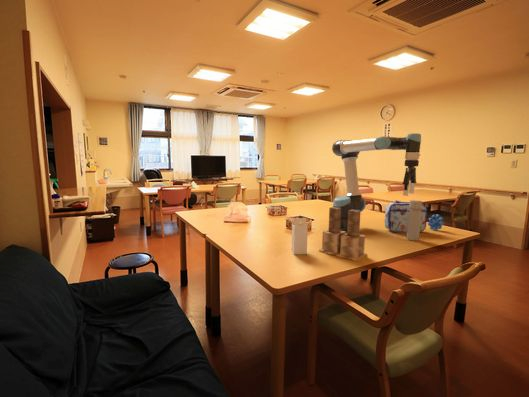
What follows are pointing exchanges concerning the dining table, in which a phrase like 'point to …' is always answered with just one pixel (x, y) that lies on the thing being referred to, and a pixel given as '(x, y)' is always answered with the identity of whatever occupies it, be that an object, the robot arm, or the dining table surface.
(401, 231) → the lunch box
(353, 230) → the right post
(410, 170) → the robot arm
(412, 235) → the tall beige block
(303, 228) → the milk carton
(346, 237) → the stand
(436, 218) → the blue bumpy wheel
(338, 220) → the left post
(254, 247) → the dining table surface
